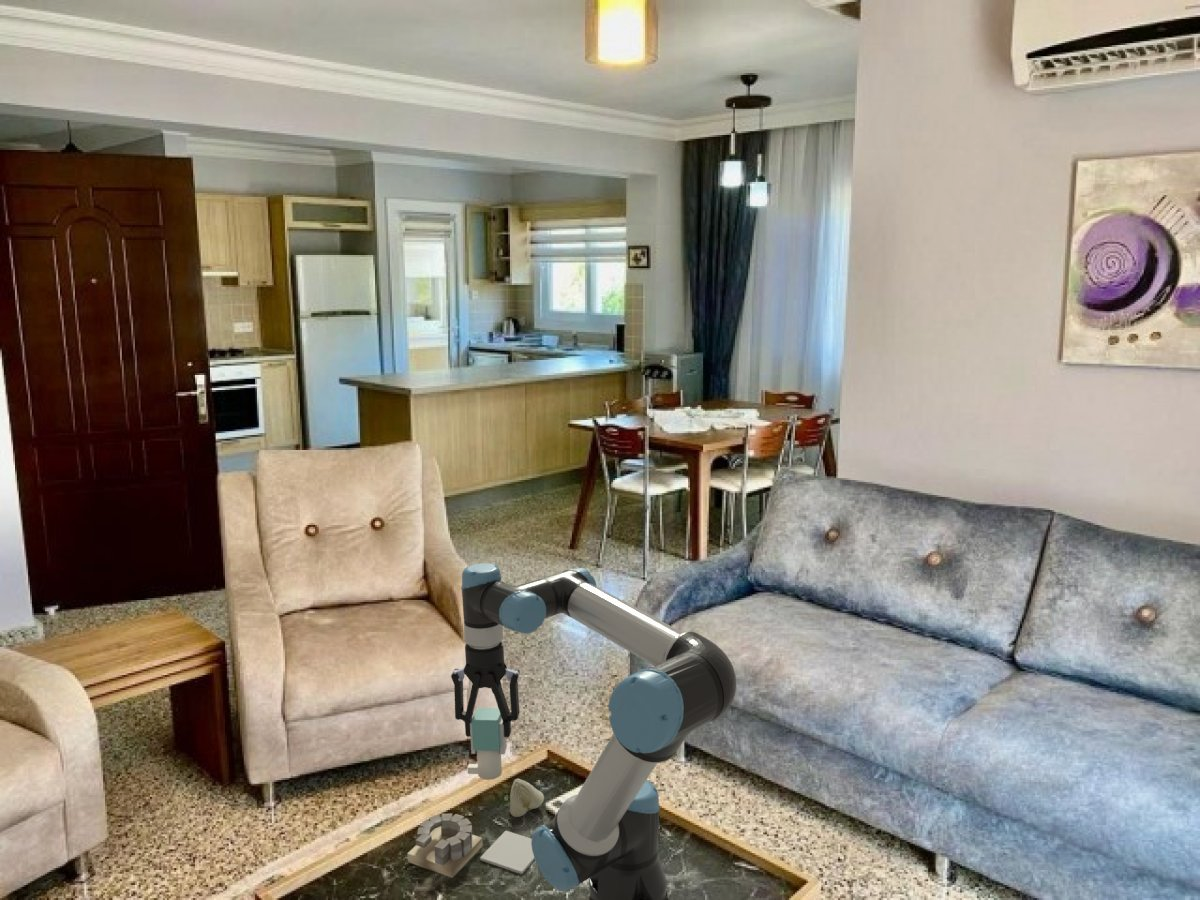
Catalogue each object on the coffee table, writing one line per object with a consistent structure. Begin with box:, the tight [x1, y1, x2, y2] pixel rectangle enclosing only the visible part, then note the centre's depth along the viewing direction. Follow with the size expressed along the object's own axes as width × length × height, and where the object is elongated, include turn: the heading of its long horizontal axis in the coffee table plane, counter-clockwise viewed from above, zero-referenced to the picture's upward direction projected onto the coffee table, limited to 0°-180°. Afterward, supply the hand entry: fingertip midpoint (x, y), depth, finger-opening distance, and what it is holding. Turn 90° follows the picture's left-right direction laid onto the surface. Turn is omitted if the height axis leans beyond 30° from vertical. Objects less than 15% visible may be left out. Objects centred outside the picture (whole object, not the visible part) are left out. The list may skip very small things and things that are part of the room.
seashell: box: [509, 778, 545, 818], centre depth 205 cm, size 8×8×8 cm
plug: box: [467, 707, 503, 781], centre depth 184 cm, size 7×5×13 cm
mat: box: [479, 830, 535, 875], centre depth 190 cm, size 10×10×1 cm
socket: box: [406, 813, 483, 879], centre depth 189 cm, size 11×11×6 cm
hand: (489, 750), depth 184 cm, fingers closed on plug, 5 cm apart
